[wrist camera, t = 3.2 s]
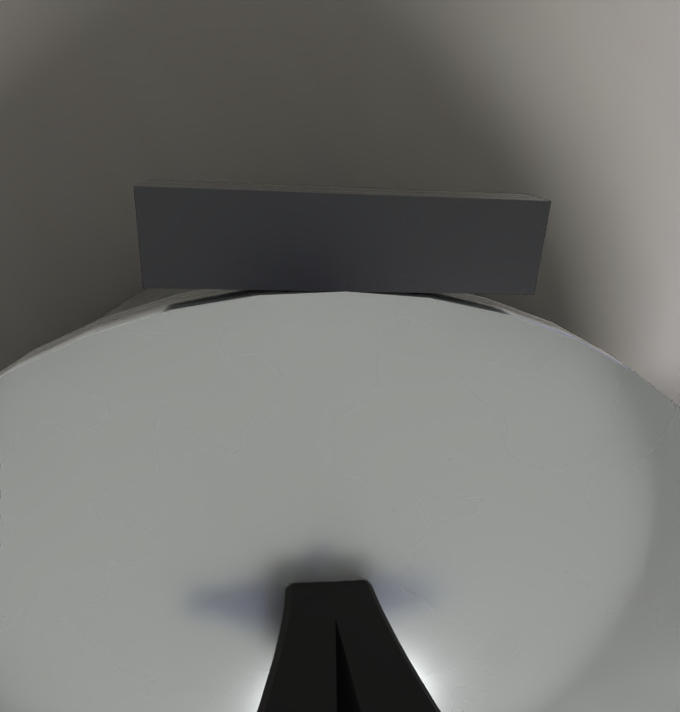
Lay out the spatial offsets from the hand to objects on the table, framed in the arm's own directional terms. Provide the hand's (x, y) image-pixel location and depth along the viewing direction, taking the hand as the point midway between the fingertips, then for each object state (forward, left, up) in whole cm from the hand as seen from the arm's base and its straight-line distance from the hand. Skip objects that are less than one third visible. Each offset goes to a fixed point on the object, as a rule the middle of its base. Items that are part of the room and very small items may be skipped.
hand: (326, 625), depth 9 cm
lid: (-2, 0, -1) cm, 2 cm away
